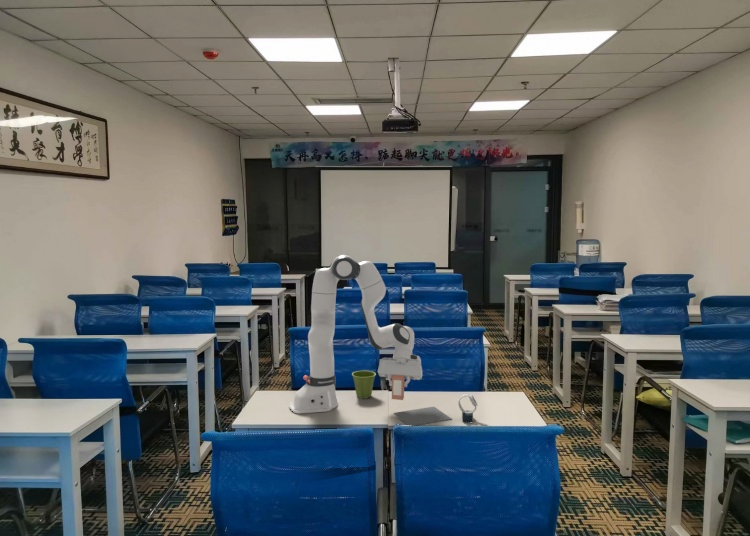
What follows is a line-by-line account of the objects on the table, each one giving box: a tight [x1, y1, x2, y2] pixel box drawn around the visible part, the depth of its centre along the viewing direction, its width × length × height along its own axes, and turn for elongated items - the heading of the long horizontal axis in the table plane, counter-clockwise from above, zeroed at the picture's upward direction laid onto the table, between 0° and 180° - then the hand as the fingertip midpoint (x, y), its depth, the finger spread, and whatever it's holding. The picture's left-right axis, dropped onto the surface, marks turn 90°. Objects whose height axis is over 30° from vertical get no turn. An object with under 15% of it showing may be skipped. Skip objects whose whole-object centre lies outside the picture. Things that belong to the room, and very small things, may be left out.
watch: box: [457, 393, 478, 423], centre depth 213 cm, size 6×8×11 cm
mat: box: [393, 406, 452, 426], centre depth 218 cm, size 20×16×1 cm
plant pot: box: [351, 370, 377, 399], centre depth 245 cm, size 12×12×11 cm
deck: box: [391, 375, 405, 401], centre depth 225 cm, size 3×5×10 cm, turn 77°
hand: (397, 385), depth 224 cm, fingers closed on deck, 5 cm apart
